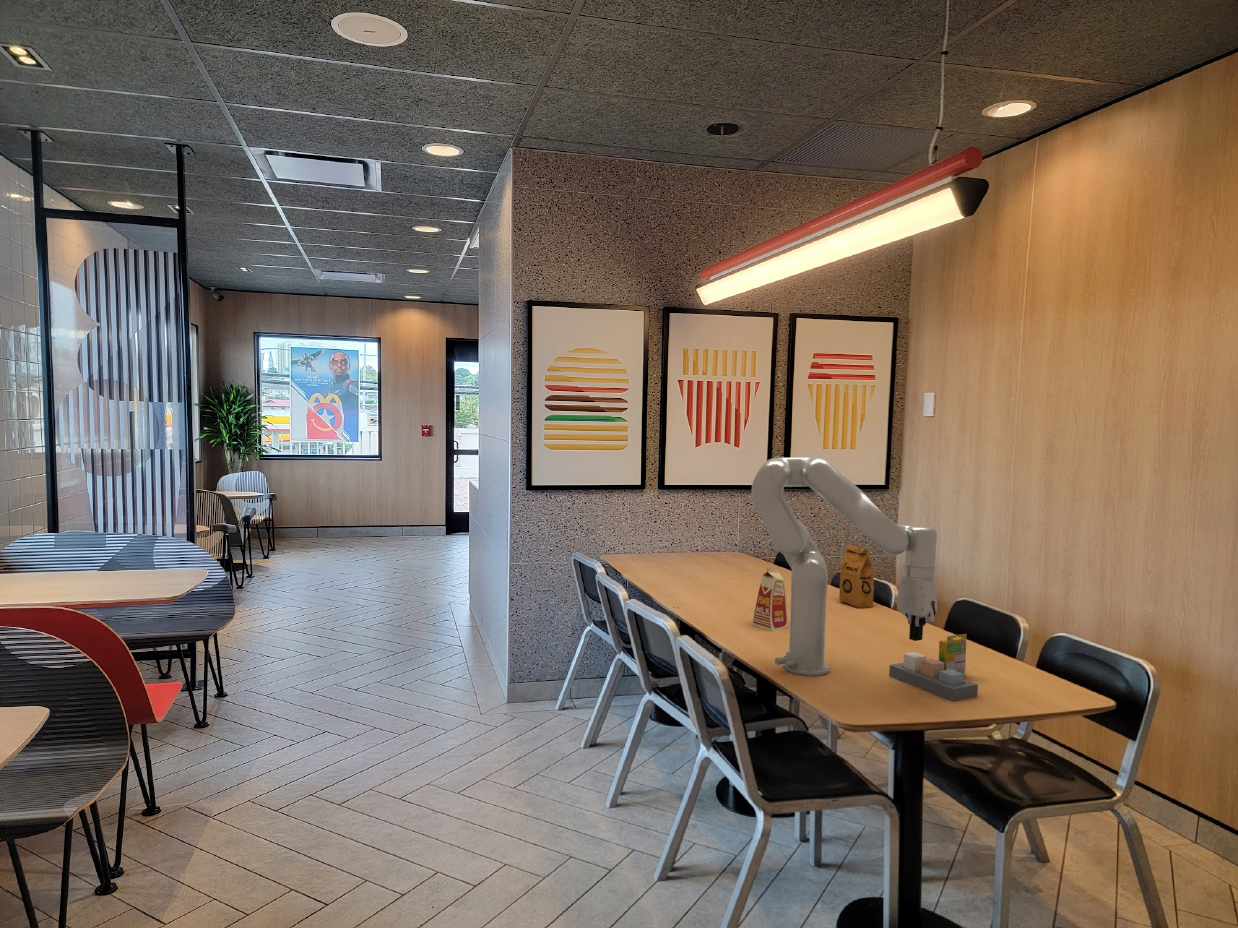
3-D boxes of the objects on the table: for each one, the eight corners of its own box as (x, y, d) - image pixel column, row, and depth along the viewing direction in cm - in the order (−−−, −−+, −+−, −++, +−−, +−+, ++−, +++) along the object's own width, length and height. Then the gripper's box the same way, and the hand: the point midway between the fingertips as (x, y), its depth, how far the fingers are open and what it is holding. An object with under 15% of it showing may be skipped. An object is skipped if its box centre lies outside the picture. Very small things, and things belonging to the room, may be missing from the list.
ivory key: (914, 672, 211) (915, 657, 211) (903, 668, 215) (903, 653, 214) (925, 670, 213) (926, 656, 213) (914, 666, 216) (914, 651, 216)
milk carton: (772, 631, 259) (774, 570, 258) (750, 625, 266) (752, 566, 265) (790, 627, 265) (792, 568, 263) (768, 621, 272) (770, 563, 271)
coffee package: (855, 609, 292) (857, 550, 290) (835, 601, 303) (837, 544, 302) (877, 607, 295) (880, 549, 294) (857, 600, 307) (859, 544, 305)
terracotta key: (932, 679, 206) (933, 664, 206) (920, 674, 209) (921, 659, 209) (943, 677, 208) (944, 662, 207) (931, 672, 211) (932, 658, 211)
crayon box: (957, 672, 220) (959, 631, 220) (965, 675, 218) (967, 633, 217) (937, 675, 217) (939, 633, 217) (945, 678, 215) (947, 636, 214)
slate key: (951, 691, 200) (952, 675, 200) (938, 686, 204) (939, 671, 204) (962, 689, 202) (963, 673, 202) (949, 684, 206) (950, 669, 206)
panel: (952, 700, 197) (953, 689, 197) (889, 675, 216) (889, 664, 216) (977, 695, 201) (977, 684, 201) (913, 671, 220) (913, 660, 220)
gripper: (888, 567, 217) (884, 633, 218) (931, 578, 204) (927, 648, 205) (908, 566, 220) (904, 631, 221) (952, 576, 207) (948, 645, 208)
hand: (915, 639), depth 213 cm, fingers closed
